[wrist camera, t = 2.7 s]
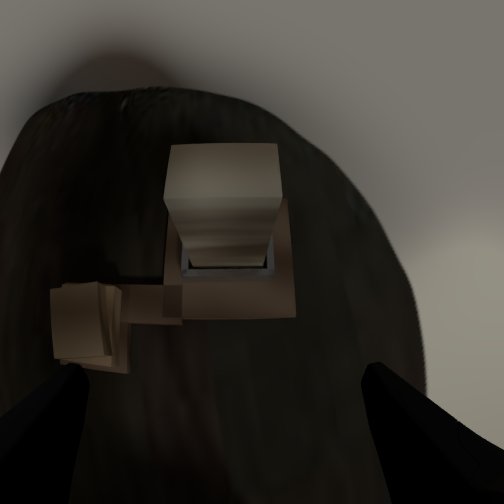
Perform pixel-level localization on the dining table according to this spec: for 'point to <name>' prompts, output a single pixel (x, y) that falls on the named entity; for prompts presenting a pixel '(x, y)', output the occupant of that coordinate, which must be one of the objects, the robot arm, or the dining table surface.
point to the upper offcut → (80, 321)
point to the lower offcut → (114, 327)
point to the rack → (208, 291)
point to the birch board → (224, 202)
